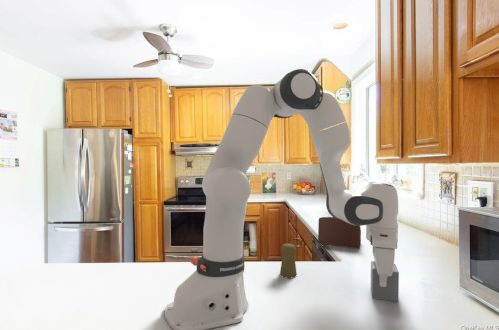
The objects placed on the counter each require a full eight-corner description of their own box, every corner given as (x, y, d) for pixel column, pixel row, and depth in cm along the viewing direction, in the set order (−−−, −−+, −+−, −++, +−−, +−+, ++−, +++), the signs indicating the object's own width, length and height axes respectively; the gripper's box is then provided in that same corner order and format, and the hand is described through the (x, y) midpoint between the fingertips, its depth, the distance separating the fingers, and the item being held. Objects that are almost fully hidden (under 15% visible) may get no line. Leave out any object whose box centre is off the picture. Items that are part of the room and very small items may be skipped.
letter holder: (359, 249, 129) (360, 219, 129) (317, 243, 137) (318, 215, 137) (360, 243, 138) (361, 216, 138) (321, 238, 146) (321, 212, 146)
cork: (296, 279, 94) (297, 247, 94) (279, 277, 95) (279, 246, 95) (297, 272, 100) (297, 242, 100) (280, 270, 101) (281, 241, 101)
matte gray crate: (372, 297, 81) (372, 268, 81) (370, 287, 88) (370, 260, 88) (398, 302, 79) (398, 272, 79) (394, 291, 85) (395, 264, 85)
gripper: (368, 226, 94) (367, 266, 95) (372, 242, 75) (372, 291, 75) (388, 228, 92) (388, 268, 92) (398, 244, 73) (397, 295, 73)
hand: (381, 279), depth 84 cm, fingers open, 8 cm apart
